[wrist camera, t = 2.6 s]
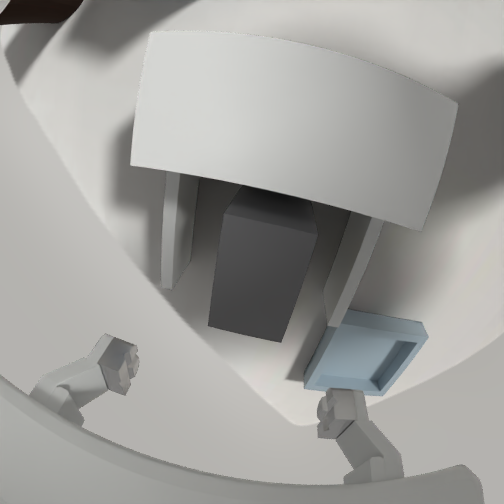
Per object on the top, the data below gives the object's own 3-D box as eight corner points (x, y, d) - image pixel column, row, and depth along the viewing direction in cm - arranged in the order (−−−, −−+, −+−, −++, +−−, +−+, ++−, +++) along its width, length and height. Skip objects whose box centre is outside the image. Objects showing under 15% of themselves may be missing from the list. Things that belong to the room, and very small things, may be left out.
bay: (392, 105, 18) (458, 103, 9) (332, 293, 26) (345, 374, 17) (207, 63, 18) (150, 31, 9) (180, 258, 27) (134, 326, 18)
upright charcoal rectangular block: (308, 191, 22) (319, 235, 14) (285, 273, 26) (281, 342, 18) (247, 177, 22) (222, 213, 14) (232, 260, 26) (207, 325, 18)
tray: (421, 322, 27) (428, 336, 24) (379, 381, 32) (382, 396, 30) (336, 306, 27) (339, 323, 25) (303, 373, 32) (303, 388, 30)
